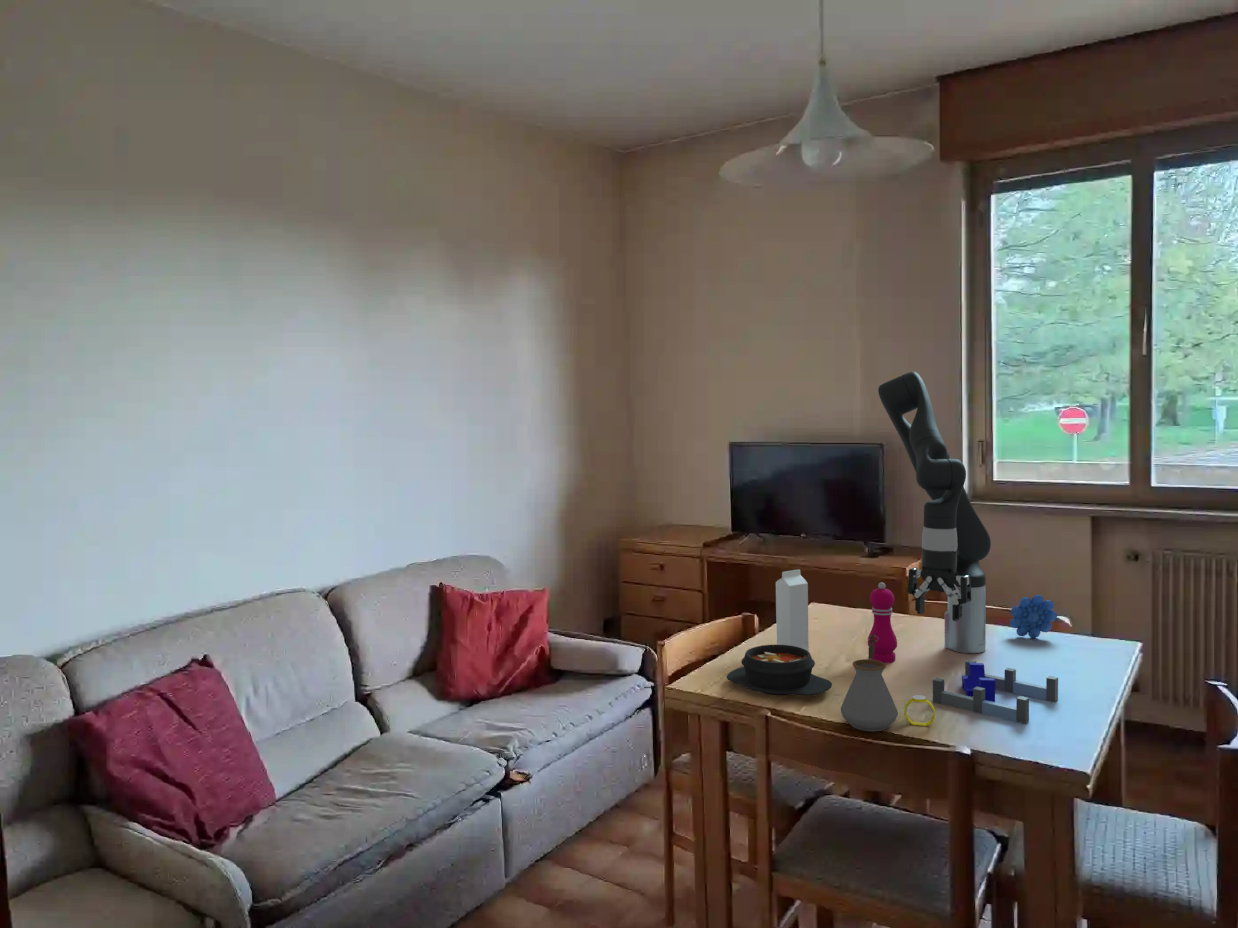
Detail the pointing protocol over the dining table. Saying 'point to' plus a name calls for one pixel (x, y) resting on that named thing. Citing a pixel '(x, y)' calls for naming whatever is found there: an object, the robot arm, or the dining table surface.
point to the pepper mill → (883, 624)
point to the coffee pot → (869, 696)
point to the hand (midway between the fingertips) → (938, 616)
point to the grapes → (1033, 616)
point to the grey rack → (1004, 684)
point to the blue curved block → (978, 681)
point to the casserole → (779, 671)
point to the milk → (792, 610)
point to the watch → (919, 699)
